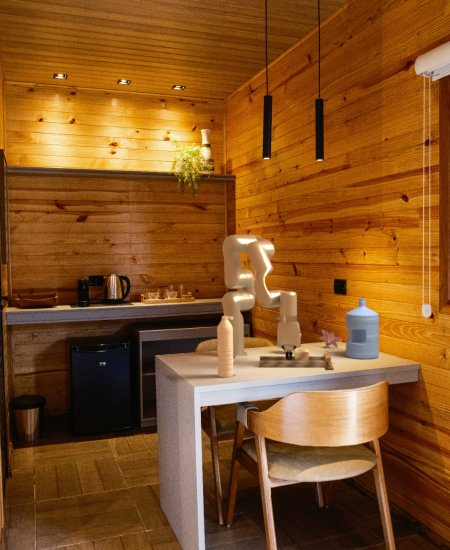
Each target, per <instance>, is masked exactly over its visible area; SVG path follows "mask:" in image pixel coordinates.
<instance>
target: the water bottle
mask: <svg viewBox="0 0 450 550" xmlns="http://www.w3.org/2000/svg"><path fill="white" fill-rule="evenodd" d="M228 320H233V317H228V316H224V315H223V316H221V321H220V322H219V324H218V325H217V328H216V332H217V338H216V339H217V347H218V351H217V376H218V377H219V376H220V378H231V377H234V358H233V327H232V325H231V324H230V322H229V321H228Z"/></svg>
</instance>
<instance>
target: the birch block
mask: <svg viewBox="0 0 450 550" xmlns="http://www.w3.org/2000/svg"><path fill="white" fill-rule="evenodd" d="M294 356H295V361H309V356H310V352H309V349H299V350H295V355H294Z"/></svg>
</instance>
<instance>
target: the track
mask: <svg viewBox="0 0 450 550" xmlns="http://www.w3.org/2000/svg"><path fill="white" fill-rule="evenodd" d="M258 366H259V368H263V369H265V368H266V369H268V368H269V369H271V368H273V369H275V368H276V369H281V368H283V369H285V368H286V369H288V368H291V369H292V368H293V369H295V368H296V369H297V368H299V369H300V368H302V369H303V368H304V369H307V368H308V369H313V368H314V369H316V368H318V369H322V368H323V369H324V370H325V371H334V366H333V364H332V357H331V355H330V353H328V352H323V355H317V356H316V355H309V361H295V355H292V359H291V361H287V359H286V355H278V356H277V355H275V356H274V355H266V356H265V355H259V361H258Z"/></svg>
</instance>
